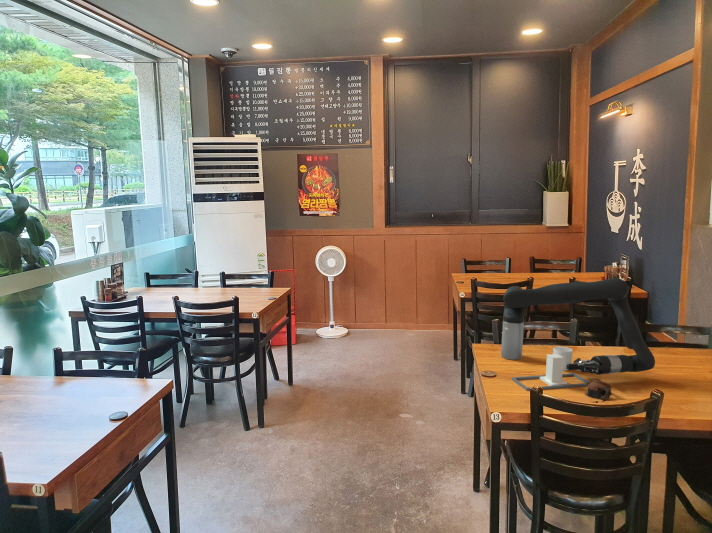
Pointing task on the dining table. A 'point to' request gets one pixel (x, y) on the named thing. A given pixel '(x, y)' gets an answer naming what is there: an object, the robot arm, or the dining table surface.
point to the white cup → (564, 355)
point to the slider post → (554, 370)
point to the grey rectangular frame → (551, 386)
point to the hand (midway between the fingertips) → (567, 367)
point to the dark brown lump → (594, 390)
